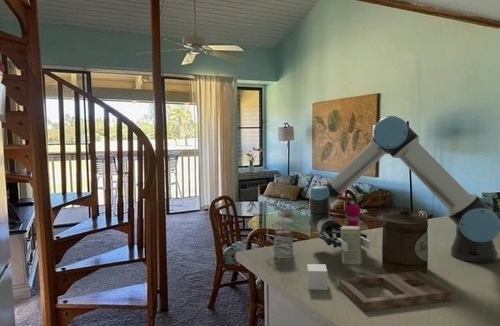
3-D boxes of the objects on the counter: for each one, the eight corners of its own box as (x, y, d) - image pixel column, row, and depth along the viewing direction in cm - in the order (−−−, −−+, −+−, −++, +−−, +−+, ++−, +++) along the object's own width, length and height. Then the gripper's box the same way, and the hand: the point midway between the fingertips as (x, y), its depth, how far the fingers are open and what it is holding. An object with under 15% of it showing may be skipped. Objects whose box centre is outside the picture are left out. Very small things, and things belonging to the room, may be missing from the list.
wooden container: (430, 278, 115) (430, 212, 114) (382, 273, 121) (381, 210, 119) (425, 263, 129) (425, 204, 128) (382, 259, 134) (381, 202, 133)
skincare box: (362, 261, 122) (361, 226, 121) (360, 265, 118) (359, 229, 117) (343, 259, 124) (342, 225, 124) (341, 263, 120) (340, 228, 120)
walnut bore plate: (418, 278, 116) (418, 270, 116) (454, 299, 100) (455, 291, 100) (338, 287, 111) (338, 279, 111) (364, 311, 95) (364, 302, 95)
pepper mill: (343, 248, 148) (342, 202, 147) (345, 243, 155) (344, 199, 154) (361, 250, 146) (360, 202, 144) (362, 245, 152) (362, 199, 151)
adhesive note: (327, 290, 109) (327, 271, 109) (308, 289, 110) (307, 271, 110) (325, 282, 115) (325, 264, 115) (307, 281, 116) (307, 264, 116)
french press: (294, 259, 138) (293, 196, 136) (265, 258, 140) (263, 196, 138) (296, 251, 147) (295, 192, 146) (269, 250, 150) (267, 192, 148)
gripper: (353, 236, 140) (386, 254, 118) (305, 241, 137) (329, 260, 114) (353, 217, 140) (385, 232, 117) (305, 222, 136) (328, 237, 114)
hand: (358, 246), depth 116 cm, fingers closed on skincare box, 7 cm apart
